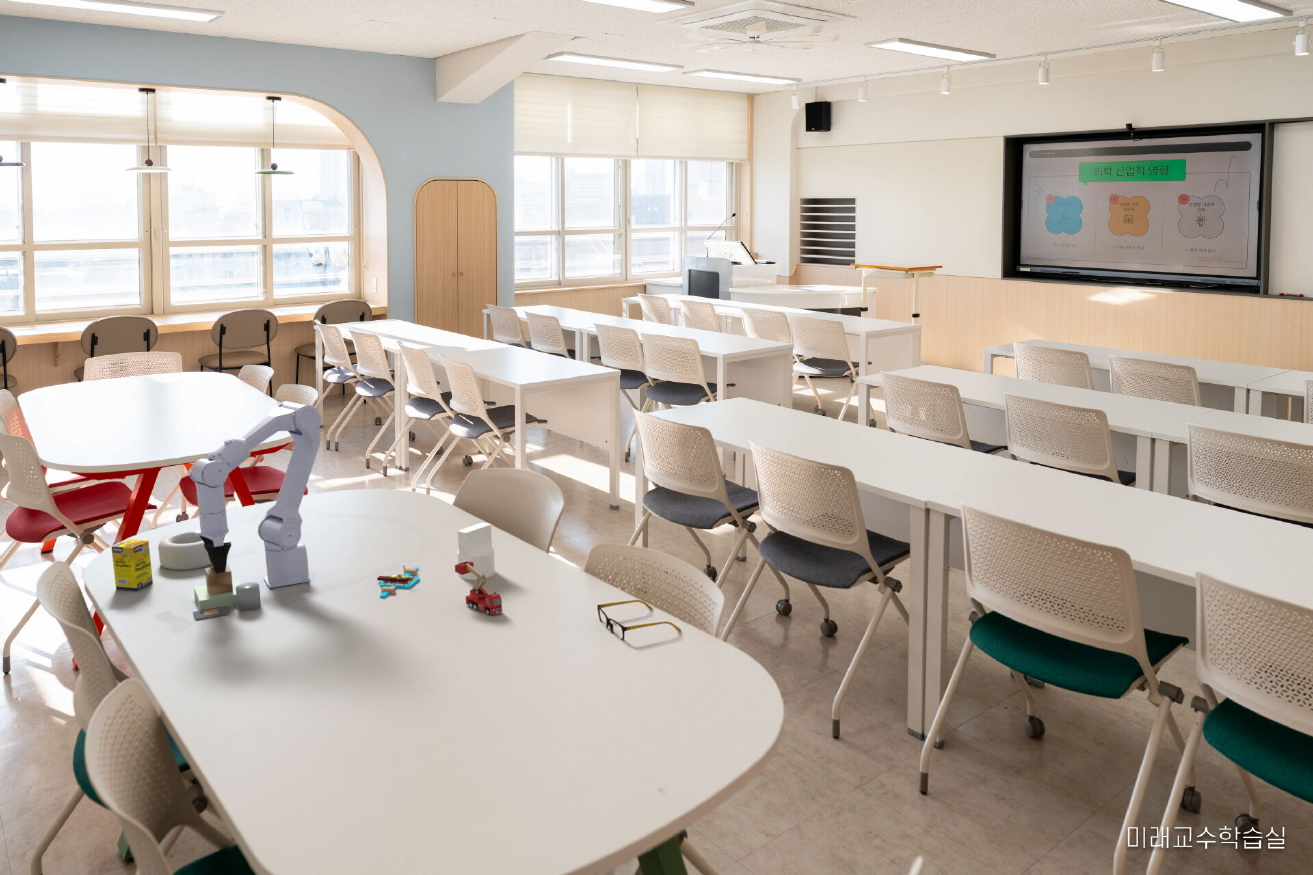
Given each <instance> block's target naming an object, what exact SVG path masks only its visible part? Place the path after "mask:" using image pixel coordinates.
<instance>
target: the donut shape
mask: <svg viewBox="0 0 1313 875" xmlns="http://www.w3.org/2000/svg"><path fill="white" fill-rule="evenodd" d="M195 531H198V529H197V530H196V529H195V530H188V531H182V532H177V533H173V534H171V535H168V536H165V537H164V538H163V539H161V540H160V541H159V543H158V547H157V548H158V549H157V550H158V558H159V563H160V566H162V567H163V568H165V569H168V570H172V571H173V570H174V571H191V570H197V569H203V568H208V567H210V566H213V565H212V563H211V561H210V559H209V555H208V552H207V551H206V549H205V547H204V542H203V540H202V539H201V538H200V536H196V534H195Z"/></svg>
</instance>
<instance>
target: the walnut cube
mask: <svg viewBox="0 0 1313 875" xmlns="http://www.w3.org/2000/svg"><path fill="white" fill-rule="evenodd" d="M204 570H205V571H204V572H205V573H204V574H205V582H206V584H205V585H207V590H208V592H209V595H216V594H222V593H228V592H233V585H232V581H233V576H232V575H233V574H232V570H231V568H230V566H229V565H228V564H226V570H225V572H223V573H215V571H214V568H213V566H212V567H204Z"/></svg>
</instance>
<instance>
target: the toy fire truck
mask: <svg viewBox="0 0 1313 875" xmlns="http://www.w3.org/2000/svg"><path fill="white" fill-rule="evenodd" d="M473 567H474V563H473V562H469V561H467V562H463V563H460V564H458V563H457V564H455V565H454V572H455V573H457V574H458V573H459V574H461V575H464V574H467V573H470V572H471V573H473V574H474V575H475V576H477V579H476V580H474V581H475V582H474V584H473V586H472V589H469V594H468V595H466V596H464V597H465V604H466V605H467V606H469V608H471V609H473V610H475V611H478V610H479V611H481V612H484V613H486V614H485V615H487V616H489V615H491V616H492V615H493V616H494V615H498V614H500V613H502V612H503V603H502V602H503V601H502V597H501V595H500V593H498V592H496V591H494V592H493V593H488V592H487V590H486V589H485V588H484V586H485V583H487V581H488V578H486V577H485V575H484V574H481V573H480V572H479V571H477V570H476V569H475V568H473Z"/></svg>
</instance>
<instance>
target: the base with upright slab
mask: <svg viewBox="0 0 1313 875" xmlns="http://www.w3.org/2000/svg"><path fill="white" fill-rule="evenodd" d="M457 542H458V549H457V552H456V556H457V558H456V559H457V564H460V563H463V562H467V561H469V562H473V563H474V567H473V568H475V569H476V570H477V571H479V572H480V573H481V574H484V575H485V577H486V579H488V578H491V577H493V576H494V575H495V572H496V570H495V549H494V548H493V546H492V544H493V543H492V542H493V541H492V524H491V523H488V522H483V521H482V522H480V523H479V522H478V523H476V524H474V525H471V526H468V527H464V528H462V529H459V530H457ZM457 576H458V577H459V578H460V579H463V580H470V581H471V580H472V581H476V579H477V576H475V575H474V574H473V573H471V572H470V573H467V574H464V575H461V574H459V573H457Z"/></svg>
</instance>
